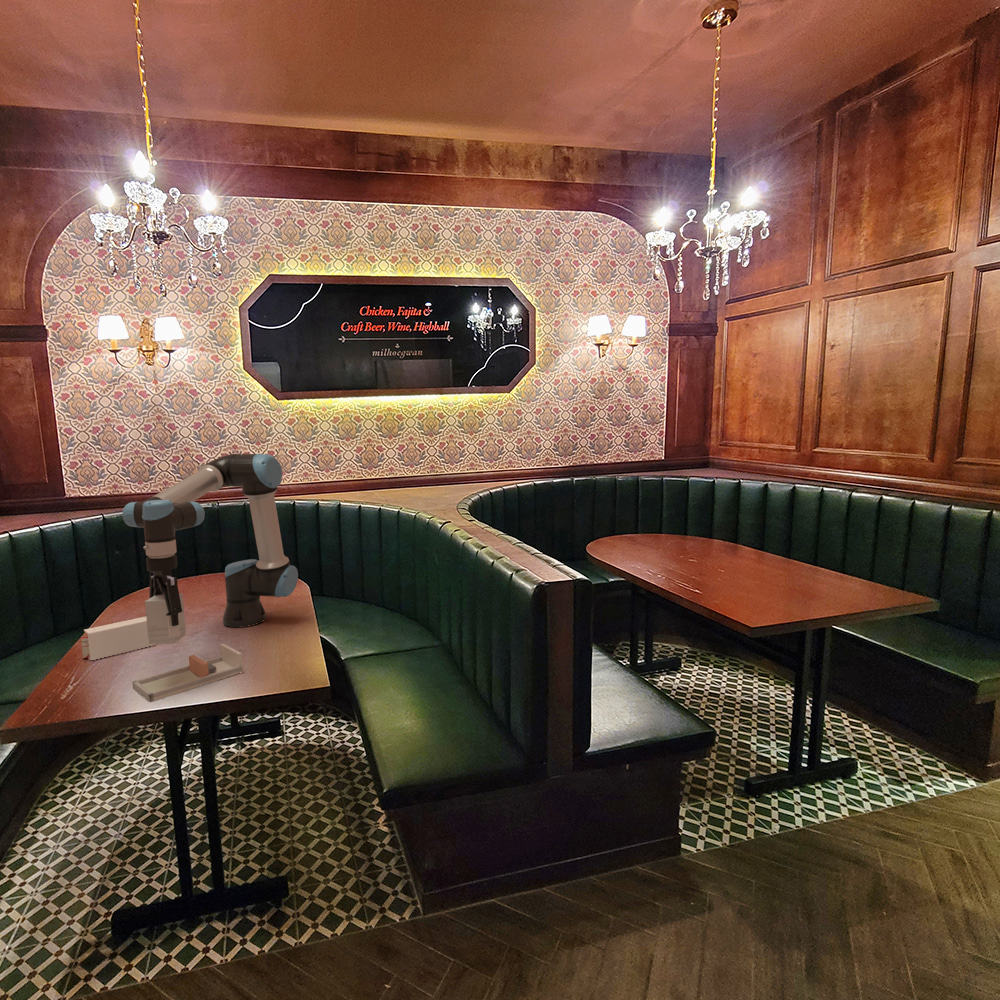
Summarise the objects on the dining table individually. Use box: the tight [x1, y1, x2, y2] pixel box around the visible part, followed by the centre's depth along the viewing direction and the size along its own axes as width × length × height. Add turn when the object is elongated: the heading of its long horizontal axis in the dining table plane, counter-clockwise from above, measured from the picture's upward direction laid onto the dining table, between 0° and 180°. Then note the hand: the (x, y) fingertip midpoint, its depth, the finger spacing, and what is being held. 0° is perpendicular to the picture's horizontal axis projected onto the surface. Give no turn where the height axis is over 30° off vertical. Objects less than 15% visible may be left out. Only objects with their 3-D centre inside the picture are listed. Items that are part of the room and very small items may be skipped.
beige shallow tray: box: [131, 643, 244, 703], centre depth 180 cm, size 26×13×6 cm, turn 138°
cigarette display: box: [80, 616, 156, 661], centre depth 203 cm, size 20×6×9 cm, turn 137°
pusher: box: [188, 654, 216, 678], centre depth 183 cm, size 5×10×4 cm, turn 48°
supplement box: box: [144, 592, 187, 645], centre depth 174 cm, size 7×7×13 cm
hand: (167, 632), depth 175 cm, fingers closed on supplement box, 10 cm apart
